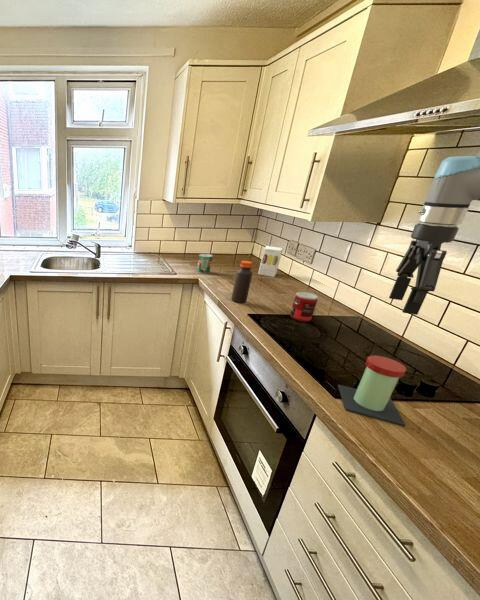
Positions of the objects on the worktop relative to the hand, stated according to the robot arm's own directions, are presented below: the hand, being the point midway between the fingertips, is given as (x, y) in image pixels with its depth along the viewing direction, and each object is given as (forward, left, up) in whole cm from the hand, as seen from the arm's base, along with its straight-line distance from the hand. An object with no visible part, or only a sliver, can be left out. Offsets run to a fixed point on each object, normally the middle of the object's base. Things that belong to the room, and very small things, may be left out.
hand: (402, 305), depth 86 cm
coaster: (+3, +12, -26) cm, 29 cm away
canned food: (+15, -45, -26) cm, 54 cm away
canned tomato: (+64, -96, -26) cm, 118 cm away
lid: (+3, +12, -13) cm, 18 cm away
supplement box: (+28, -111, -26) cm, 117 cm away
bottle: (+40, -53, -26) cm, 71 cm away
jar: (+3, +12, -25) cm, 28 cm away
